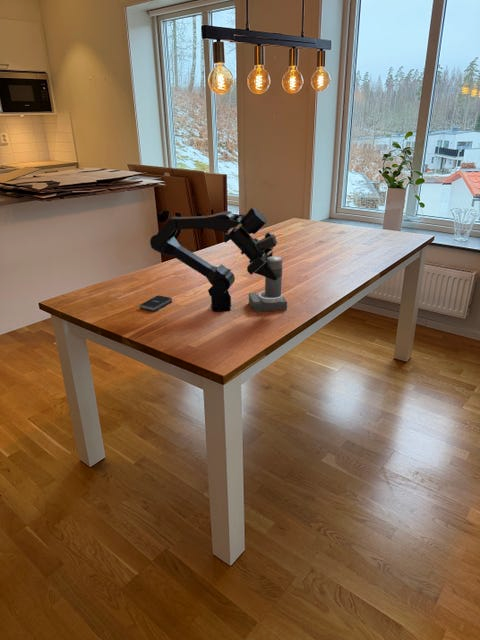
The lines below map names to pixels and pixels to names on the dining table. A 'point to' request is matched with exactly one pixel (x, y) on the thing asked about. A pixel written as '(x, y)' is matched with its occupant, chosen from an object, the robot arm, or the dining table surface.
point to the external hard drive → (156, 303)
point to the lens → (270, 285)
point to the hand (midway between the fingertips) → (277, 276)
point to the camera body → (266, 302)
